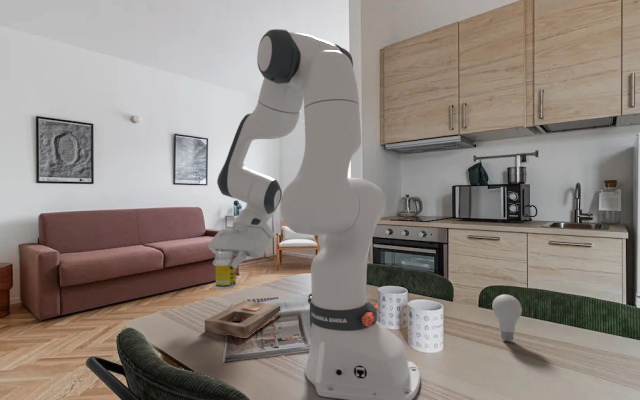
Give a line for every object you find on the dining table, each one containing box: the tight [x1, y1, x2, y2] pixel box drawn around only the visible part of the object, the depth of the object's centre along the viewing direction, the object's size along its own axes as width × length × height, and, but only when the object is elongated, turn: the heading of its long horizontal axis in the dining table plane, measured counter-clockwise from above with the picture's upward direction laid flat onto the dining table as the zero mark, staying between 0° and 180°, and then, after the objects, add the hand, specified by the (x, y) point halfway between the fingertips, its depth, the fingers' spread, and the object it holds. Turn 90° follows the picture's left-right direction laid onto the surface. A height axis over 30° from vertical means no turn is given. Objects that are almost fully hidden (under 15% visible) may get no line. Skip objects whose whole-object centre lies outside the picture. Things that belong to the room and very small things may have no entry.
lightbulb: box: [491, 294, 523, 342], centre depth 79 cm, size 6×6×11 cm
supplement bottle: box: [214, 251, 237, 290], centre depth 93 cm, size 5×5×10 cm
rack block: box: [204, 300, 282, 337], centre depth 93 cm, size 13×17×3 cm
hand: (223, 266), depth 92 cm, fingers open, 5 cm apart
